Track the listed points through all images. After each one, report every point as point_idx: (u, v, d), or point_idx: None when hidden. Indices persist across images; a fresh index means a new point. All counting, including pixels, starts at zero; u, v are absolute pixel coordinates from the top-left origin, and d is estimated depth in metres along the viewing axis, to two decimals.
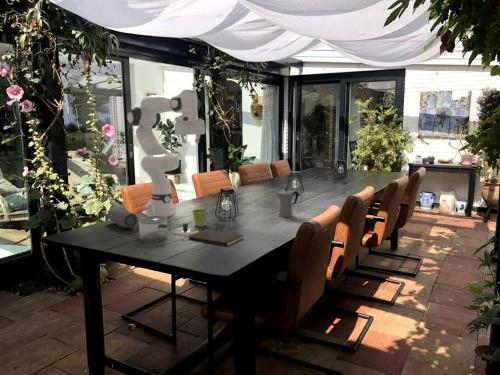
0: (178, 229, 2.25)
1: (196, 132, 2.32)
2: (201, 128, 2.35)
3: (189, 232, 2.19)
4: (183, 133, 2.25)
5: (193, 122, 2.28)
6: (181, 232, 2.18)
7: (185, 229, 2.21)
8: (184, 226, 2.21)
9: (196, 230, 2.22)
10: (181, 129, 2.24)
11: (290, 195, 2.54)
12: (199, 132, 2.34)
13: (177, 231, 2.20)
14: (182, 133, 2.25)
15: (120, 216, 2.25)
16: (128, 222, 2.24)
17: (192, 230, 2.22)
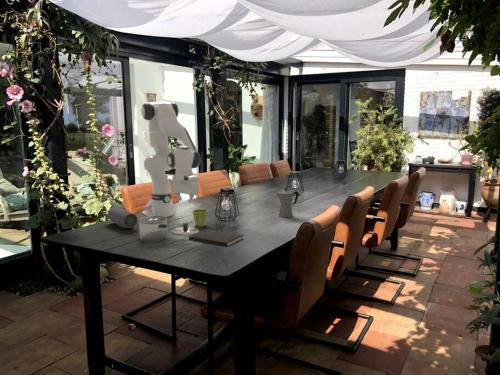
0: (178, 229, 2.25)
1: None
2: None
3: (189, 232, 2.18)
4: None
5: None
6: (181, 232, 2.19)
7: (185, 229, 2.21)
8: (184, 226, 2.21)
9: (196, 230, 2.22)
10: None
11: (290, 195, 2.54)
12: None
13: (177, 231, 2.21)
14: None
15: (120, 216, 2.25)
16: (128, 222, 2.24)
17: (192, 230, 2.22)
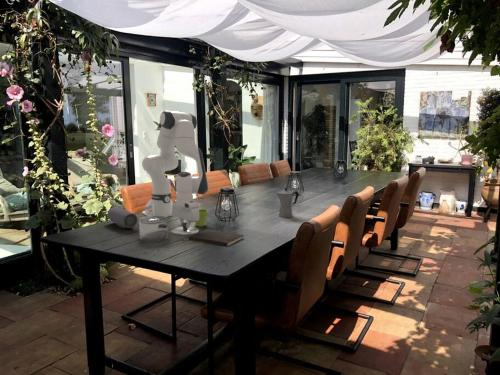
0: (178, 228, 2.25)
1: None
2: None
3: (188, 231, 2.18)
4: None
5: None
6: (181, 231, 2.19)
7: (185, 228, 2.21)
8: (184, 225, 2.21)
9: (196, 230, 2.22)
10: None
11: (290, 195, 2.54)
12: None
13: (177, 230, 2.21)
14: None
15: (120, 216, 2.24)
16: (128, 222, 2.24)
17: (192, 230, 2.22)
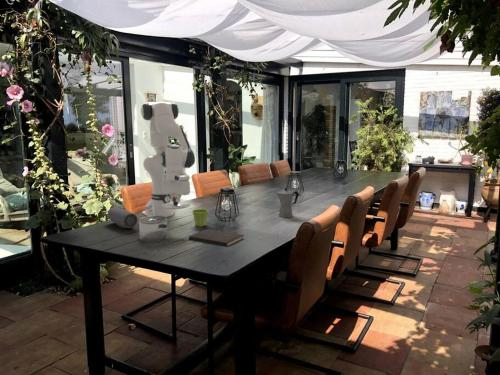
0: (169, 203, 2.18)
1: None
2: None
3: (179, 206, 2.12)
4: None
5: None
6: (171, 206, 2.12)
7: (175, 203, 2.15)
8: (174, 200, 2.14)
9: (187, 204, 2.16)
10: None
11: (290, 195, 2.54)
12: None
13: (167, 205, 2.14)
14: None
15: (120, 216, 2.25)
16: (128, 222, 2.24)
17: (183, 204, 2.16)
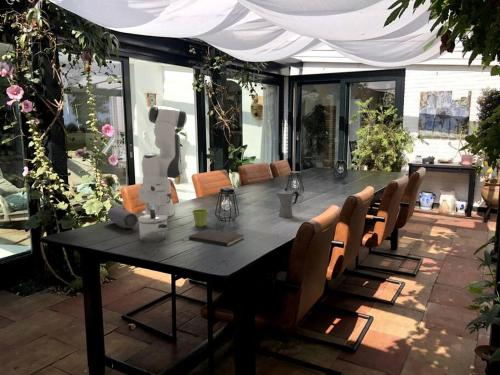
0: (146, 216, 2.11)
1: None
2: None
3: (155, 219, 2.04)
4: None
5: None
6: (147, 219, 2.05)
7: (152, 216, 2.07)
8: (151, 212, 2.07)
9: (164, 217, 2.08)
10: None
11: (290, 195, 2.54)
12: None
13: (144, 218, 2.07)
14: None
15: (120, 216, 2.25)
16: (128, 222, 2.24)
17: (160, 217, 2.08)
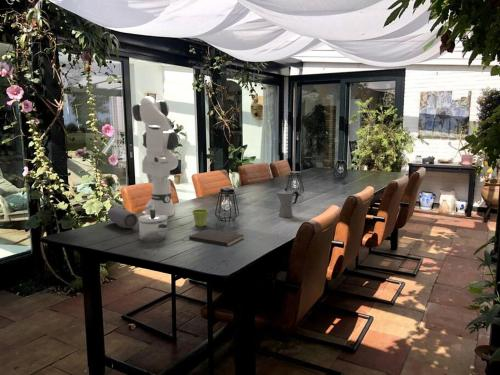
0: (146, 216, 2.11)
1: None
2: None
3: (155, 219, 2.04)
4: None
5: None
6: (147, 219, 2.05)
7: (152, 216, 2.07)
8: (151, 212, 2.07)
9: (164, 217, 2.08)
10: None
11: (290, 195, 2.54)
12: None
13: (144, 218, 2.07)
14: None
15: (120, 216, 2.25)
16: (128, 222, 2.24)
17: (160, 217, 2.08)
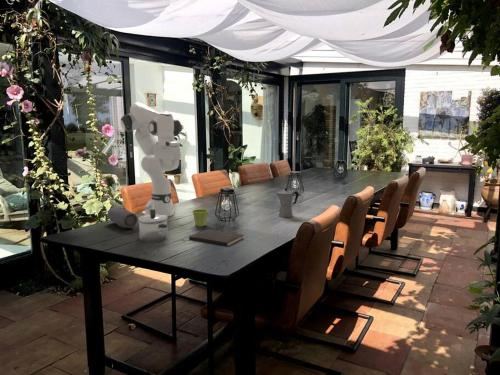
0: (146, 216, 2.11)
1: None
2: None
3: (155, 219, 2.04)
4: None
5: None
6: (147, 219, 2.05)
7: (152, 216, 2.07)
8: (151, 212, 2.07)
9: (164, 217, 2.08)
10: None
11: (290, 195, 2.54)
12: None
13: (144, 218, 2.07)
14: None
15: (120, 216, 2.24)
16: (128, 222, 2.24)
17: (160, 217, 2.08)
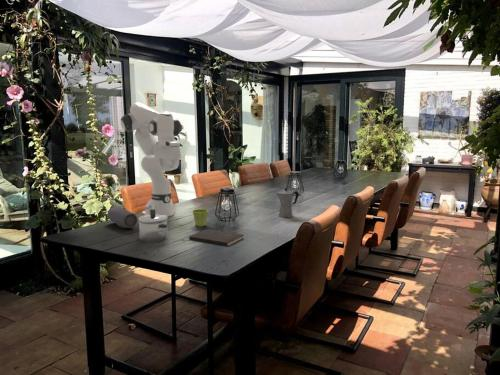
0: (146, 216, 2.11)
1: None
2: None
3: (155, 219, 2.04)
4: None
5: None
6: (147, 219, 2.05)
7: (152, 216, 2.07)
8: (151, 212, 2.07)
9: (164, 217, 2.08)
10: None
11: (290, 195, 2.54)
12: None
13: (144, 218, 2.07)
14: None
15: (120, 216, 2.24)
16: (128, 222, 2.24)
17: (160, 217, 2.08)
